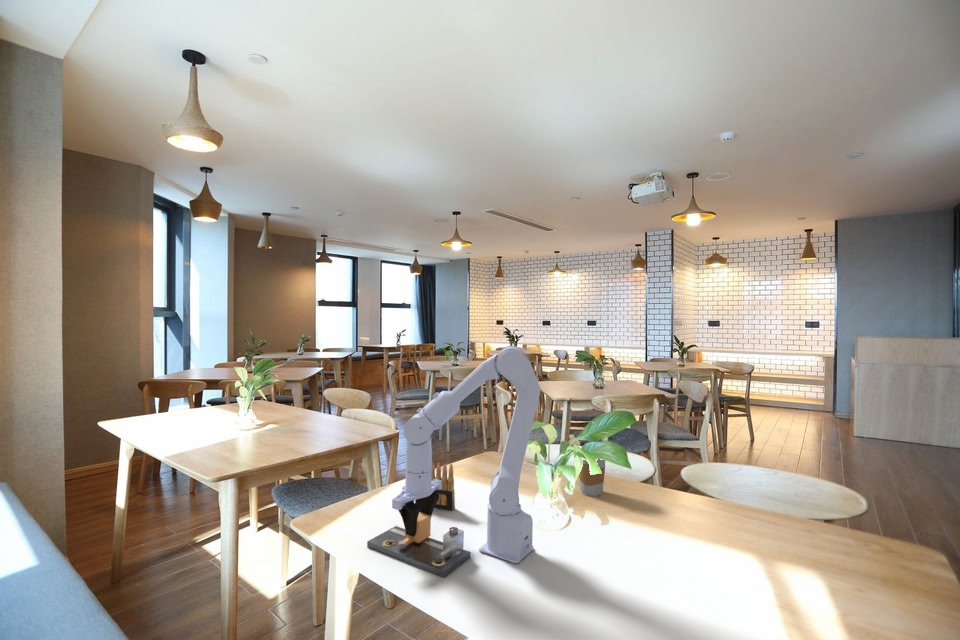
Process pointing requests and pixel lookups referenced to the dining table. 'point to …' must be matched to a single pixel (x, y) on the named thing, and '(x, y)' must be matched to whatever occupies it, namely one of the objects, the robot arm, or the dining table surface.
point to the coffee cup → (591, 478)
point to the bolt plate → (424, 550)
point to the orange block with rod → (418, 530)
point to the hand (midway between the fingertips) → (417, 530)
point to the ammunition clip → (444, 488)
